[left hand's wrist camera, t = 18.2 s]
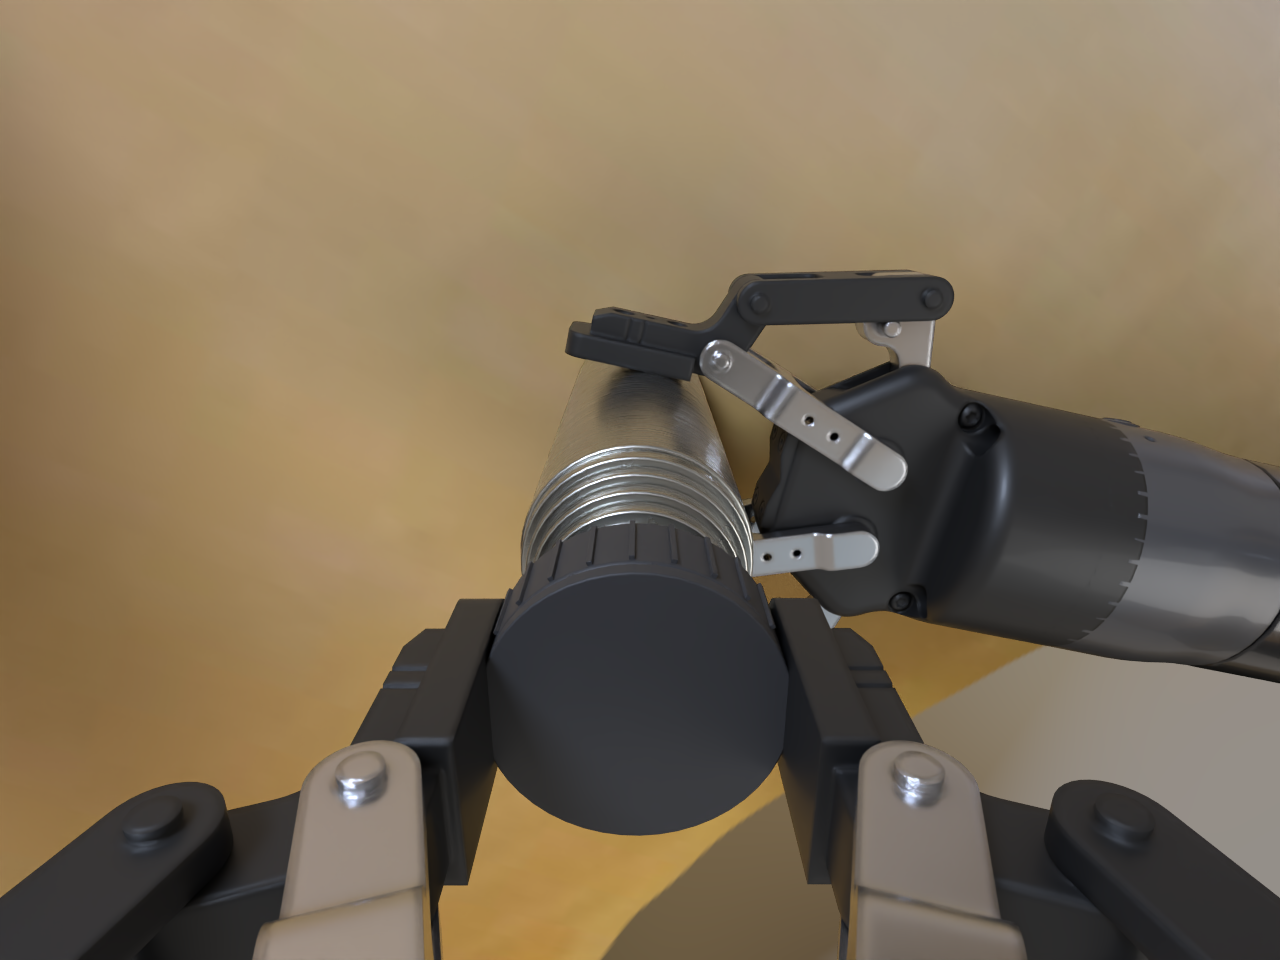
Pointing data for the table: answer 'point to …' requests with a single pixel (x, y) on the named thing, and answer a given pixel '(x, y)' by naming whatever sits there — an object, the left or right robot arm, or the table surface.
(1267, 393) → the table surface
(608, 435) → the bottle
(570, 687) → the cap
